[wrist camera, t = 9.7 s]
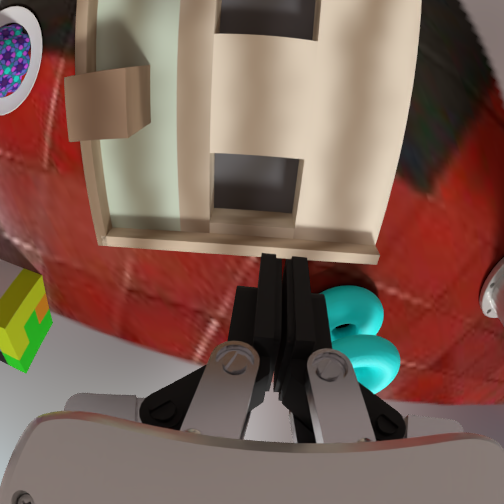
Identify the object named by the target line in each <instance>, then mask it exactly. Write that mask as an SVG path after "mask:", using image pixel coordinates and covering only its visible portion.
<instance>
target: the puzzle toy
mask: <svg viewBox="0 0 504 504" xmlns="http://www.w3.org/2000/svg"><path fill="white" fill-rule="evenodd" d="M52 323H53V321H52V318H51V313H50V310H49V306H48V302H47V298H46V293H45V288H44V283H43V278H42V275H40V274H38V273H35V272H32V271H30V270H27V269H24V268H22V267H19V266H17V265H14V264H11V263H9V262H6V261H4V260H1V259H0V361H2V362H4V363H6V364H8V365H10V366H12V367H14V368H16V369H18V370H20V371H22V372H24V373H27V371H28V369H29V367H30V365H31V363H32V361H33V359H34V357H35V354H36V353H37V351H38V349H39V347H40V345H41V343H42V341H43V340H44V338H45V336H46V334H47V332H48V331H49V329H50V327H51V325H52Z"/></svg>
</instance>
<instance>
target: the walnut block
mask: <svg viewBox="0 0 504 504" xmlns="http://www.w3.org/2000/svg"><path fill="white" fill-rule="evenodd" d="M64 87H65V104H66V116H67V127H68V136H69V142H76V141H88V140H103V139H123V138H129V137H130V136H132V135H133V134H135V133H136V132H138V131H139V130H141V129H142V128H144V127H145V126H147V125H148V124H150V123H151V105H150V65H143V66H133V67H124V68H116V69H108V70H101V71H95V72H89V73H84V74H79V75H74V76H69V77H65V78H64Z"/></svg>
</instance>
